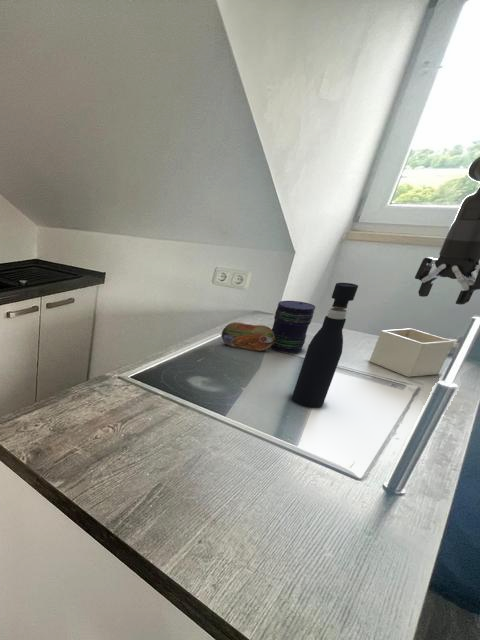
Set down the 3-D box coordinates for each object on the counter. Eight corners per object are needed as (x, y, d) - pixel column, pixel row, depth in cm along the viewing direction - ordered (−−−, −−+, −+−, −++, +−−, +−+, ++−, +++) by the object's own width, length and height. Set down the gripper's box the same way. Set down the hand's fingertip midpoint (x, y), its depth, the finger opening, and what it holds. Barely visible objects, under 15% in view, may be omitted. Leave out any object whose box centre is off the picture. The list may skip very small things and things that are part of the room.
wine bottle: (285, 398, 100) (322, 283, 88) (301, 393, 102) (339, 280, 90) (312, 410, 95) (355, 289, 82) (328, 404, 97) (372, 285, 85)
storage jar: (291, 356, 124) (305, 311, 118) (260, 346, 132) (271, 303, 126) (308, 349, 128) (322, 305, 122) (276, 340, 136) (288, 299, 130)
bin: (408, 376, 109) (423, 343, 105) (369, 361, 119) (381, 330, 114) (451, 372, 110) (468, 340, 106) (409, 357, 120) (423, 327, 116)
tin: (219, 344, 134) (224, 321, 131) (220, 341, 136) (225, 318, 133) (270, 353, 126) (277, 329, 123) (271, 350, 128) (278, 326, 125)
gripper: (517, 240, 93) (486, 306, 99) (446, 234, 105) (422, 292, 112) (491, 242, 92) (461, 308, 98) (423, 235, 105) (400, 294, 111)
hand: (440, 300), depth 105 cm, fingers open, 8 cm apart
